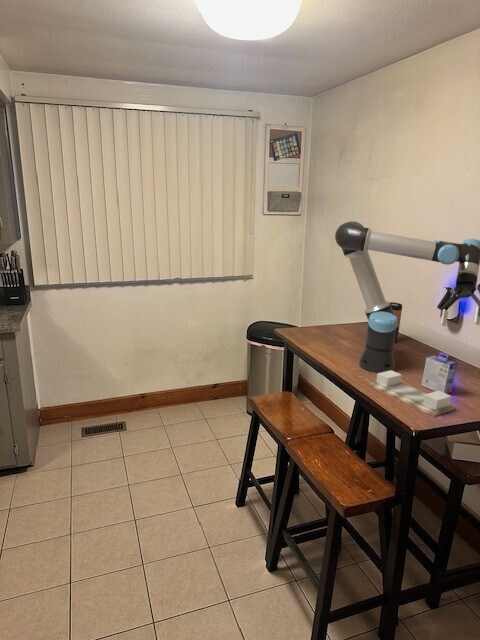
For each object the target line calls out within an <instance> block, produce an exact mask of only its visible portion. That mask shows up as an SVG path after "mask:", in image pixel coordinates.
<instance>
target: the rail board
mask: <svg viewBox="0 0 480 640" xmlns="http://www.w3.org/2000/svg"><path fill="white" fill-rule="evenodd" d="M376 381H377V379H376V380H373V382H371V383H370V384H369V385H370V387H371V388H374V389H377V390H378V391H380V392H383V393H385V394H387V395H389V396H391V397H393V398H395V399H397V400H399V401H401V402H403V403H406V404H407V405H409V406H411V407H414V408H416V409H418V410H419V411H421V412H424V413H426V414H428V415H429V416H432V417H437V416H439V415H442V414H443V415H444V414H445V413H448V412H450V411H453V410H456V406H455V405H453V404H451V403H450V405H448V406H446V407H443V408H440V409H437V410H435V409H433V408H431V407H429V406H427V405H424V404H423V402H424V396H425V395H426V394H427V393H426V392H424V391H422V390H419V389H416V388H415V387H412V386H410V385H407V384H405V383H403V382H402V381H401V382H400V383H398V384H395V385H391V386H387V387H386V386H384V385H382V384H380V383H378V382H376Z"/></svg>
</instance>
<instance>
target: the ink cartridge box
mask: <svg viewBox="0 0 480 640" xmlns="http://www.w3.org/2000/svg"><path fill="white" fill-rule="evenodd" d="M444 356H445V357H444ZM449 356H450V355H449V354H448V353H444V352H439V353H438V356H436V355H430V356H428V357H426V359H425V364H424V369H423V373H422V374H423V375H422V381H421V386H422V387H425V388H426V389H429V390H432V391H433V392H435V391H441V392H443V393H446V394H450V393H452V389H453V385H454V384H453V383H454V379H455V373H456V369H457V364H458V363H457V362H456V361H452V360H449V359H448V358H449Z"/></svg>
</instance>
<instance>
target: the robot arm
mask: <svg viewBox="0 0 480 640" xmlns="http://www.w3.org/2000/svg"><path fill="white" fill-rule="evenodd" d="M334 239H335V241H336V244H337V246H338V247H340V248H341V251H342V253H343V255H344V257H346V258H348V259H349V262H350V264H351V267H352V271H353V273H354V276H355V278H356V280H357V284H358V287H359V289H360V292H361V294H362V298H363V300H364V303H365V306H366V309H364V314H365V315H366V320H367V323H368V324H367V325H368V326H367V331H366V332H367V333H366V338H365V339H366V340H365V346H364V349H363V350H362V353H361V355H360V357H359V360H358V365H359V367H360V368H362V369H364V370H366V371H369V372H373V373H377V374H378V373H382V372H386V371H390V370H392V371H394V372H395V369H396V361H395V356H394V348H395V347H394V346H395V343H394V342H395V335H396V329H397V325H398V322H397V321H398V319H397V317H396V315H395V314H394V312H393V310H392V307H391V304H390V303H389V302H390V301H386V299H385V296H384V292H383V290H382V288H381V285H380V281H379V279H378V276H377V273H376V271H375V268H374V264H373V262H372V259H371V257H370V254H369V251H373V252H380V253H385V254H391V255H395V256H402V257H408V258H413V259H414V258H415V259H419V260H420V259H421V260H425V261H432V262H436V263H441V264H442V265H446V266H447V265H452V264H455V263H458V269H457V276H456V280H455V286H454V287H450V286H448V287H447V290H446V292H445V294H444V296H443V297H442V299H441V300H440V301H439V303H438V305H437V306H436V308H437V309H438V310H439V311H440V315H439V316H440V318H441V320H440V325H441V326H443V327H447V322H448V316H449V311H448V310H449V309H450V308H451V307H452V306H453V305H454V304H455V303H456V302H457V301H458V300H460V299H464V298H470V297H471V299H473V301H474V302H475V303H476V304H477V306H476V308H475V314H474V315H475V316H474V321H473V322H474V324H475V325H477V326H480V299H479V298H478V297H477V295H476V294H475V292H476V291H478V293H479V295H480V283H478V279H479V278H478V277H479V270H480V240H478V239H475V238H471V239H470V238H467V239H465V240H463V242H462V243H457V242H450V241H443V240H433V241H431V240H425V239H420V238H413V237H408V236H403V235H396V234H392V233H391V234H389V233H384V232H380V231H379V232H378V231H372V230H371V228H369V227H364V225H362V223H360V222H358V221H354V220H351V221H346V222H344V223H341V225H339V227H337V229H336V231H335V233H334ZM477 283H478V284H477Z"/></svg>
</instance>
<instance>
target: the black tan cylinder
mask: <svg viewBox="0 0 480 640" xmlns="http://www.w3.org/2000/svg"><path fill="white" fill-rule="evenodd" d="M388 302H389V303H390V304H391V307H392V310H393V312H394V314H395V315H396V317H397V319H398V321H397V322H398V325H397V329H396V335H395V342H394V344H396V343H397V341H398V337H399V336H398V335H399V330H400V326H401V318H402V312H403V304H402V303H399V302H393V301H391V302H390V301H388Z"/></svg>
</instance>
